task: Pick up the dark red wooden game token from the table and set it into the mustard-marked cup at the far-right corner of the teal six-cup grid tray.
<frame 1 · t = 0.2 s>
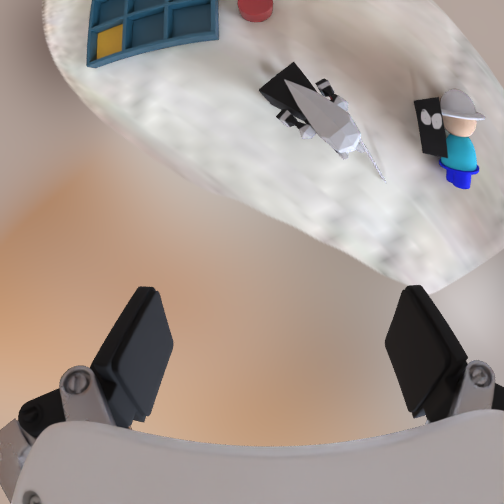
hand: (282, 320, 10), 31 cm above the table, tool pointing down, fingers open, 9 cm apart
toy: (328, 137, 35), on the table
grid: (151, 15, 26), on the table
toy 2: (442, 134, 32), on the table
token: (256, 9, 26), on the table
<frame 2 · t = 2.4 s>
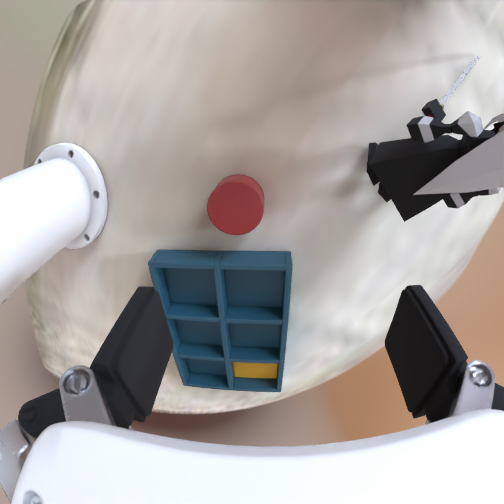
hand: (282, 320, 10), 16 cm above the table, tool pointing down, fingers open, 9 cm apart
toy: (441, 118, 19), on the table
grid: (227, 326, 32), on the table
token: (238, 198, 24), on the table
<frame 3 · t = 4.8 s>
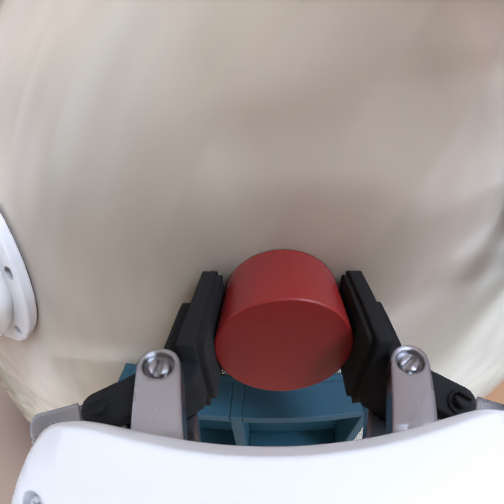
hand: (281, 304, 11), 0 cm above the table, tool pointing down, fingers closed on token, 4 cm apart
grid: (248, 442, 18), on the table
token: (281, 299, 11), on the table, touching gripper
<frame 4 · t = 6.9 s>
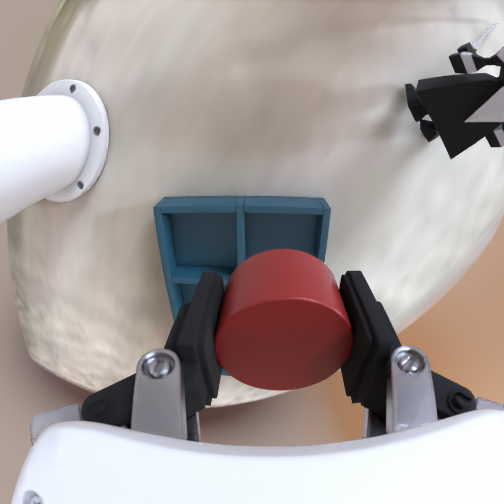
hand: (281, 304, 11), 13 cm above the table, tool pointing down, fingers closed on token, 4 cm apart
toy: (467, 73, 15), on the table
grid: (244, 295, 27), on the table
token: (281, 298, 11), point 13 cm above the table, touching gripper
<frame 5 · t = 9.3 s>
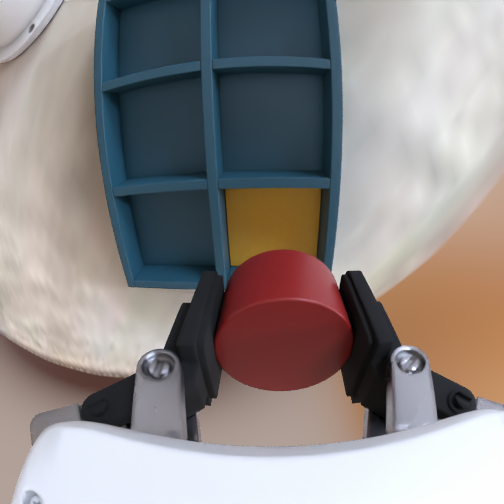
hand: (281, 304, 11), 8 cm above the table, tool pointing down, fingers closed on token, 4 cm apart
grid: (217, 123, 15), on the table
token: (281, 299, 11), point 8 cm above the table, touching gripper
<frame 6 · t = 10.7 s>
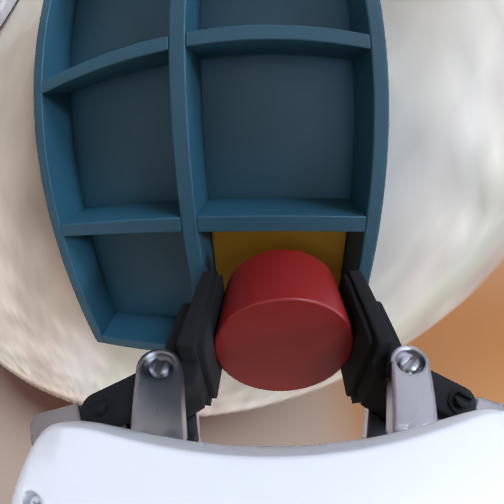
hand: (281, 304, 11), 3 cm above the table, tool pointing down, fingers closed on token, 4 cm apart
grid: (199, 128, 10), on the table
token: (281, 299, 11), point 3 cm above the table, touching gripper
when the fingers open (3 cm above the table, at t = 13.8 s): token drops 2 cm, resting on grid.
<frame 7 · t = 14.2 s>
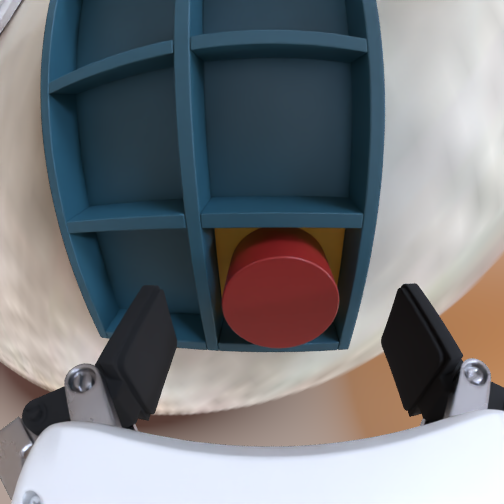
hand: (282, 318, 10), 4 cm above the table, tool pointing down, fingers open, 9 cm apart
grid: (202, 129, 11), on the table
token: (278, 269, 13), point 1 cm above the table, touching grid
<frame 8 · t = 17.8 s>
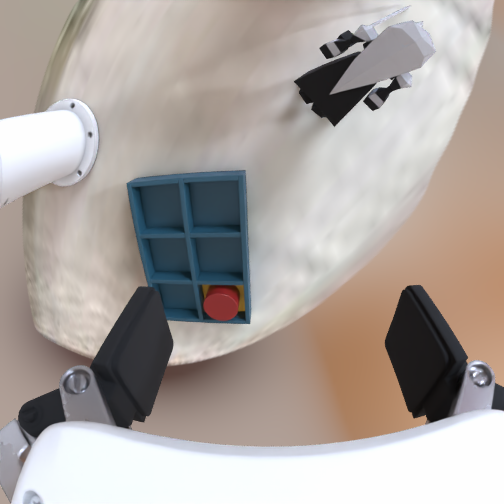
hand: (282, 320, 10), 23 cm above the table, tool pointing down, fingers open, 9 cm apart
toy: (372, 56, 22), on the table
grid: (196, 250, 35), on the table
token: (223, 294, 37), point 1 cm above the table, touching grid
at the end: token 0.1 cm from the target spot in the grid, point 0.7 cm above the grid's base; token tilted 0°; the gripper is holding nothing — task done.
